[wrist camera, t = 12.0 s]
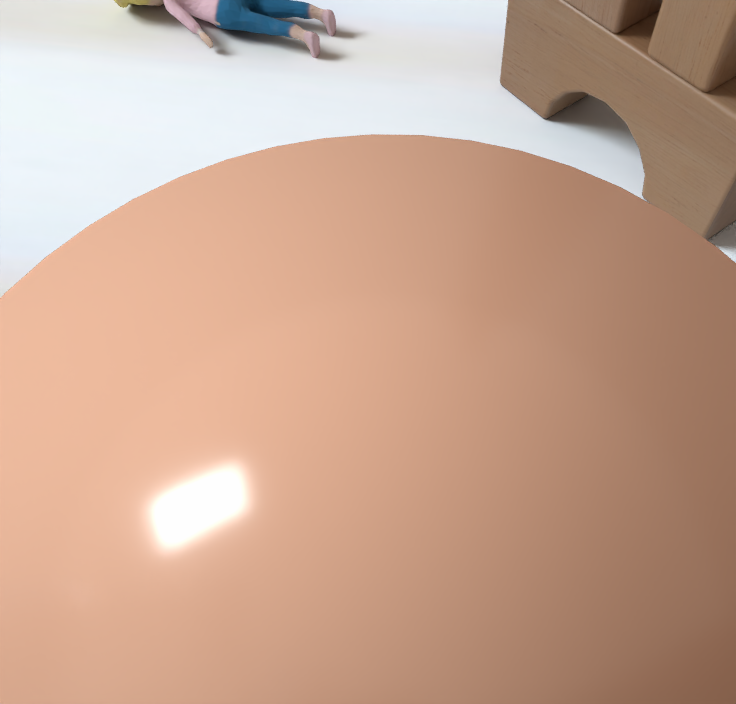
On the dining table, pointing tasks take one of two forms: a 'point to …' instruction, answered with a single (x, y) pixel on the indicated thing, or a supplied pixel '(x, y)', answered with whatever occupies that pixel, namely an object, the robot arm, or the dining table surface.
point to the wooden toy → (642, 87)
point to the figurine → (247, 17)
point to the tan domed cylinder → (371, 440)
